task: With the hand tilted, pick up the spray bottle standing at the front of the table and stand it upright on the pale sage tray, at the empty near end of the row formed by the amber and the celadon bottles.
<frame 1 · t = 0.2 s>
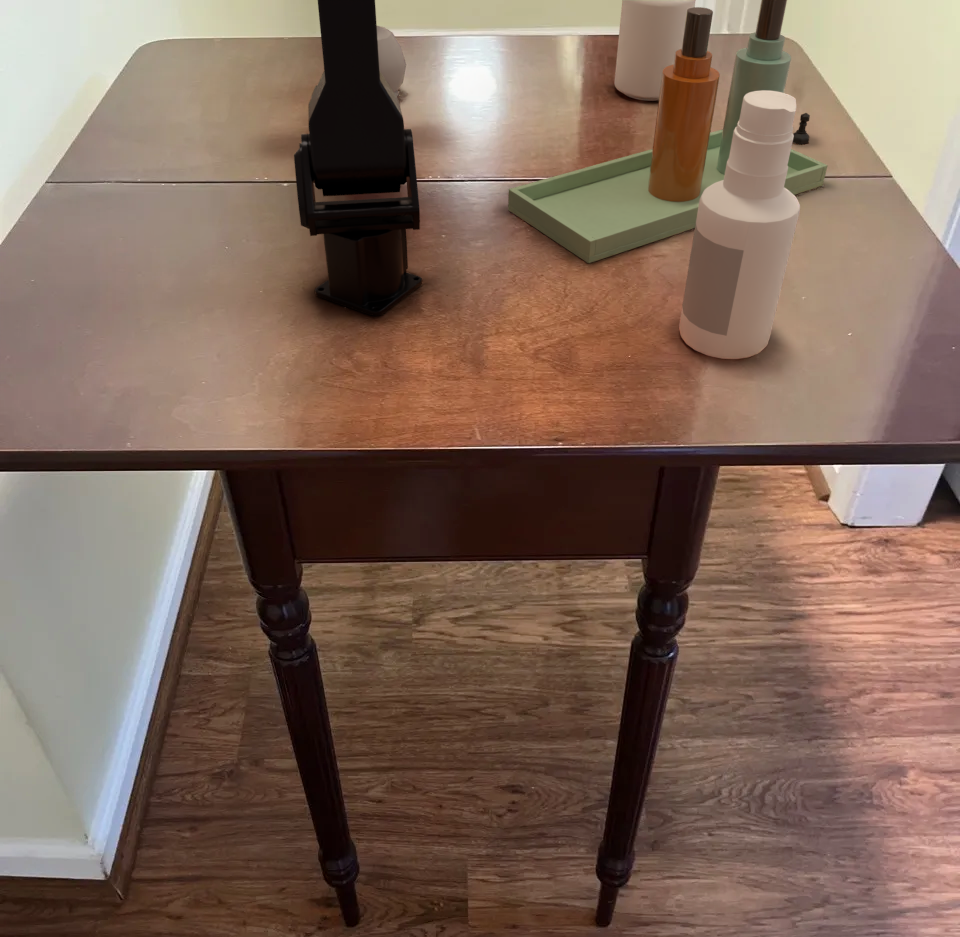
celadon bottle: (741, 169, 96), resting on tray
potion bottle: (369, 97, 112), on the table
spray bottle: (722, 338, 74), on the table
chess pawn: (799, 142, 103), on the table
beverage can: (647, 92, 114), on the table
amber bottle: (673, 190, 92), resting on tray
tray: (669, 197, 92), on the table
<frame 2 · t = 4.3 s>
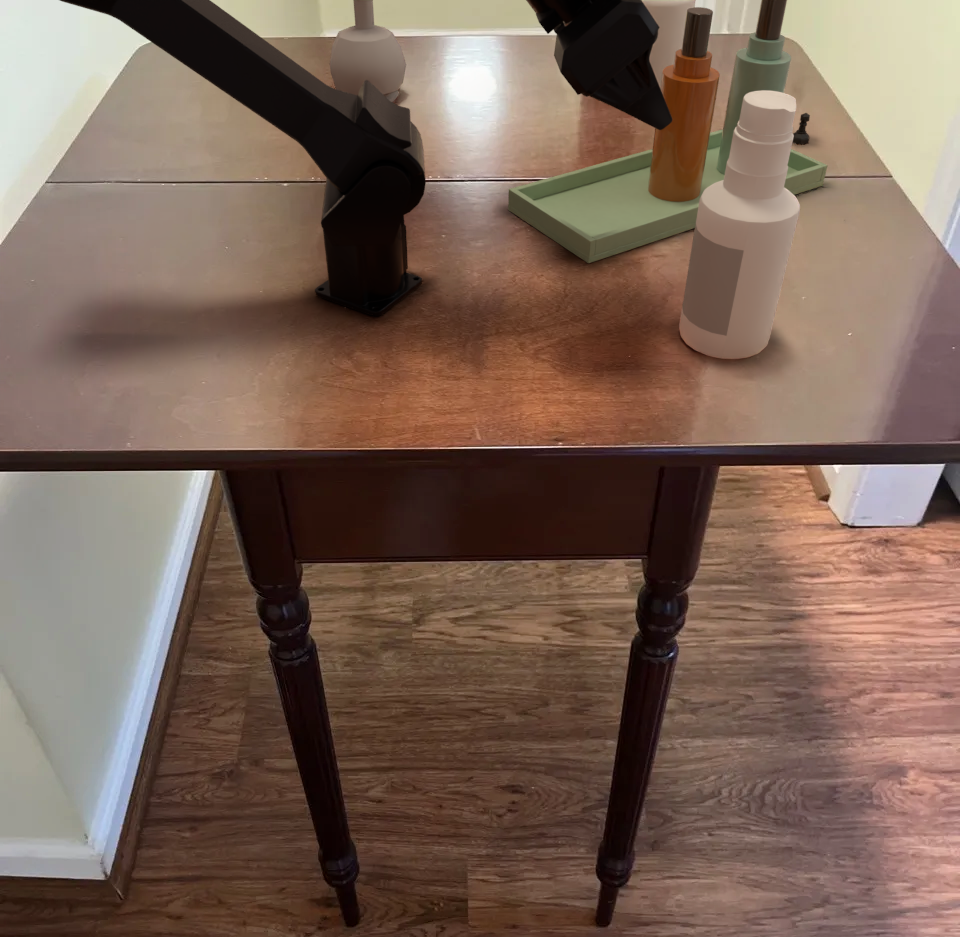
hand: (652, 101, 70), 15 cm above the table, tool tilted 40°, fingers open, 9 cm apart
nothing on the table moved.
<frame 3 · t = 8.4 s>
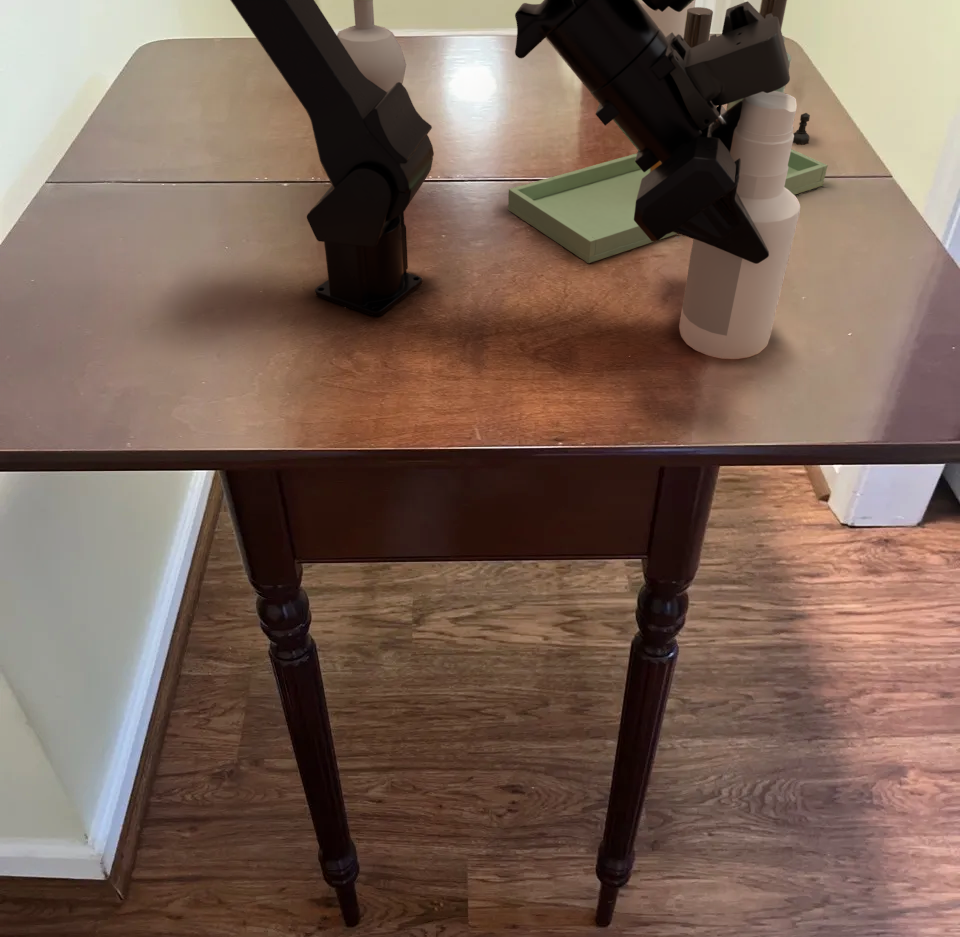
hand: (763, 235, 68), 9 cm above the table, tool tilted 45°, fingers closed on spray bottle, 7 cm apart
spray bottle: (722, 338, 74), on the table, touching gripper
everything else where it was.
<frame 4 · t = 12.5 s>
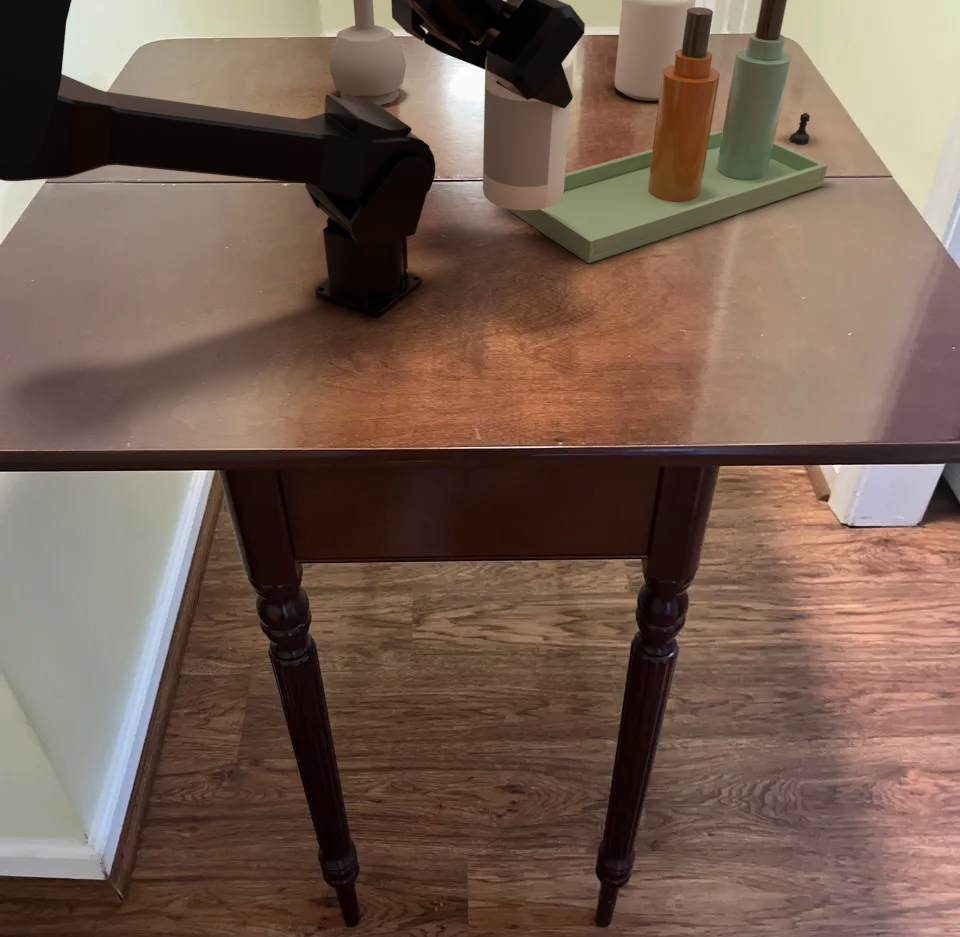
hand: (542, 88, 76), 13 cm above the table, tool tilted 45°, fingers closed on spray bottle, 7 cm apart
spray bottle: (522, 196, 81), point 5 cm above the table, touching gripper
everything else where it was.
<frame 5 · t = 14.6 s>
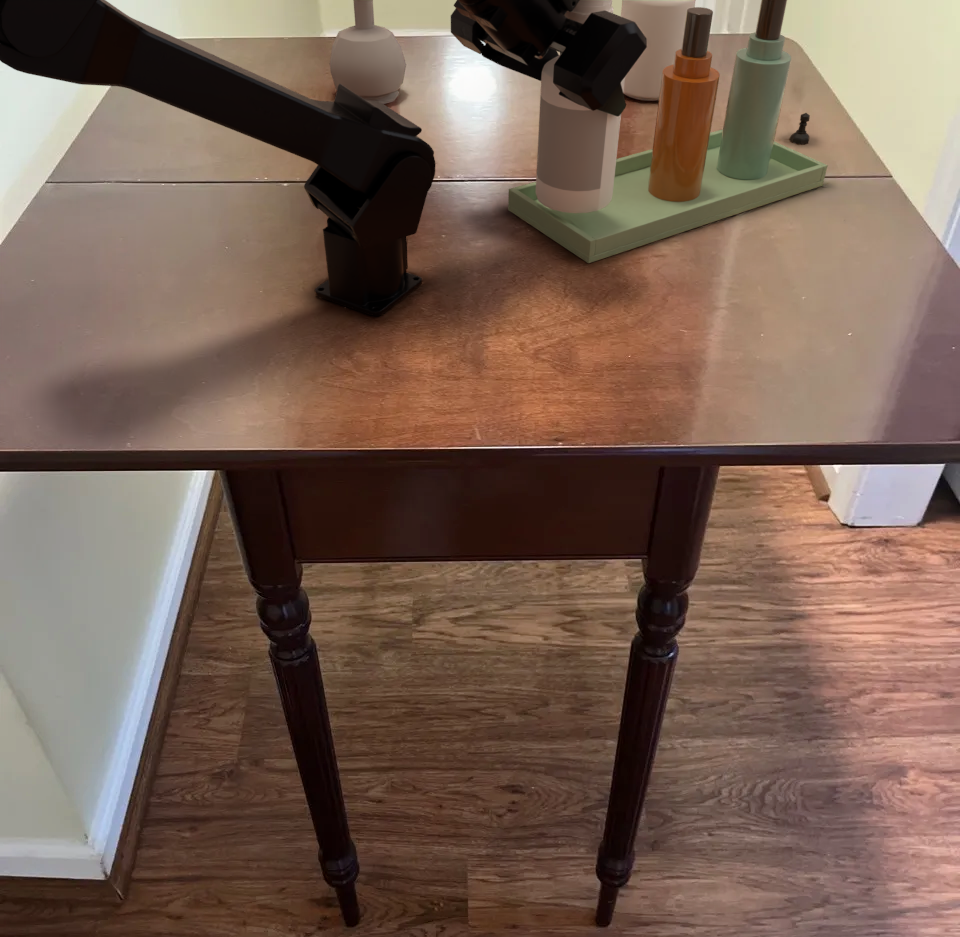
hand: (594, 97, 80), 11 cm above the table, tool tilted 45°, fingers closed on spray bottle, 7 cm apart
spray bottle: (573, 200, 85), point 3 cm above the table, touching gripper
everything else where it was.
when the fingers open (9 cm above the table, at t = 16.4 s): spray bottle stays where it is, resting on tray.
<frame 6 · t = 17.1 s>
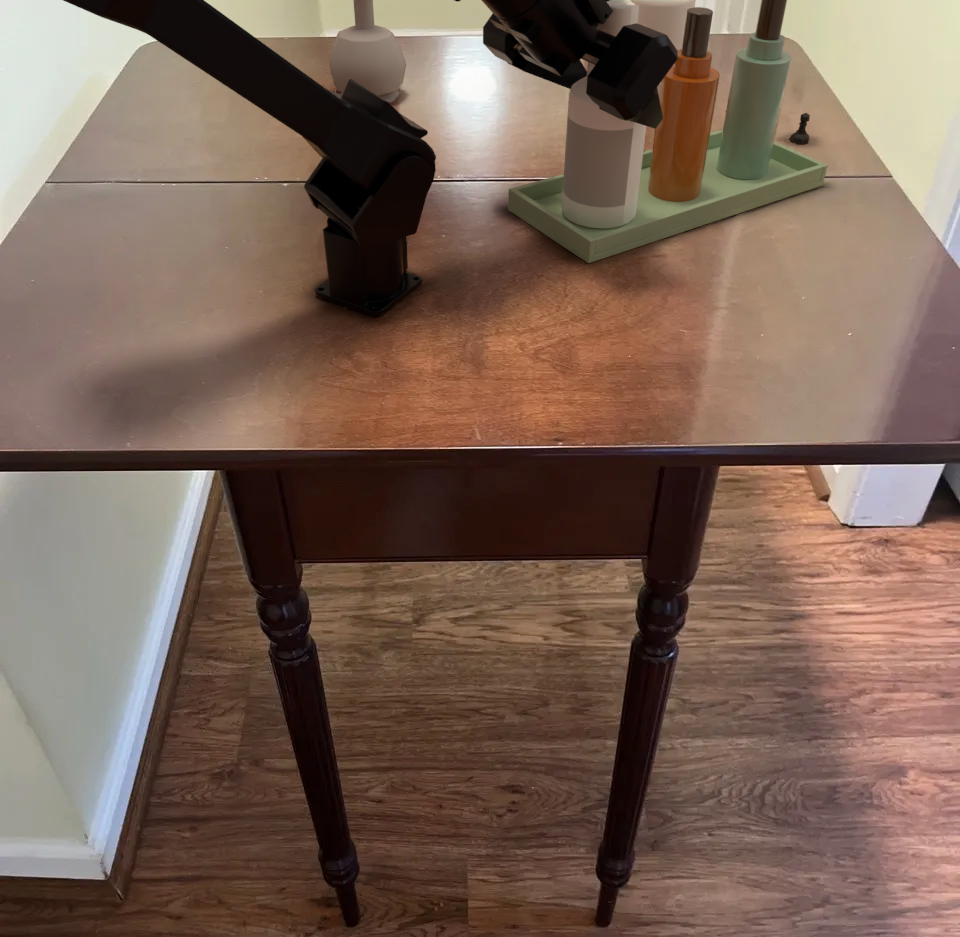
hand: (622, 106, 82), 10 cm above the table, tool tilted 45°, fingers open, 9 cm apart
spray bottle: (598, 215, 88), resting on tray
everything else where it was.
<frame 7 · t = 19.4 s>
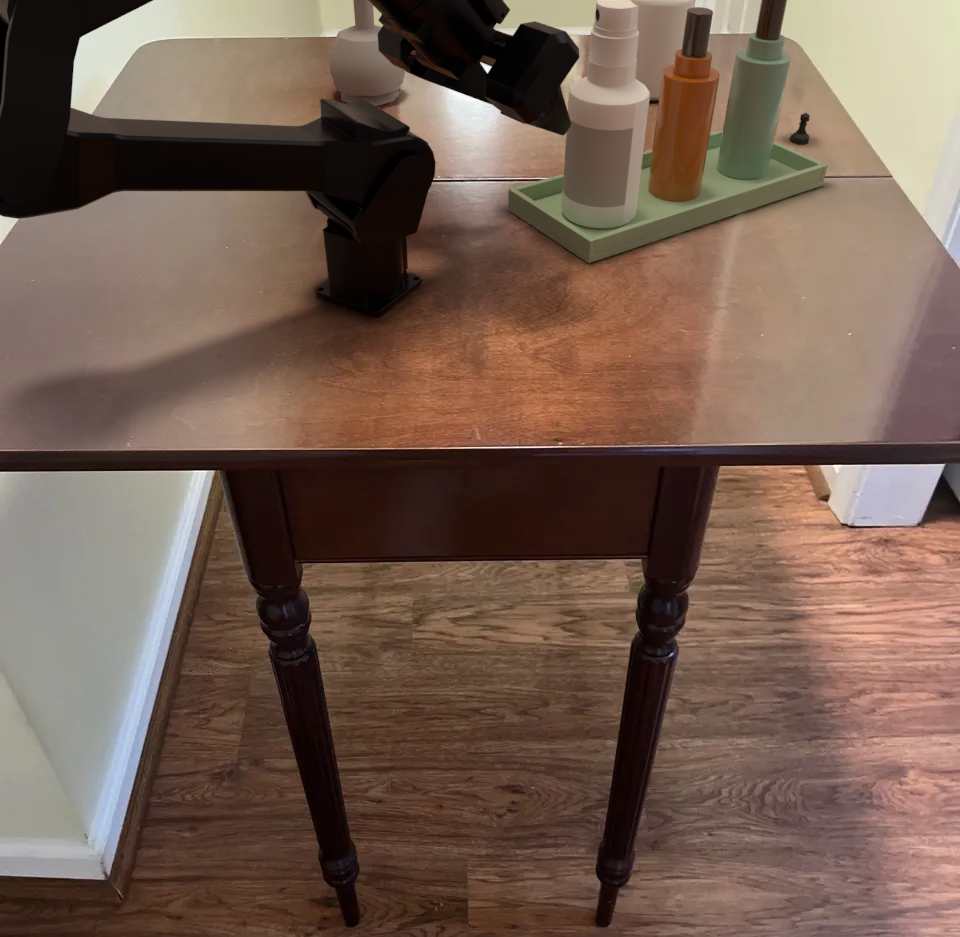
hand: (529, 113, 78), 11 cm above the table, tool tilted 45°, fingers open, 9 cm apart
nothing on the table moved.
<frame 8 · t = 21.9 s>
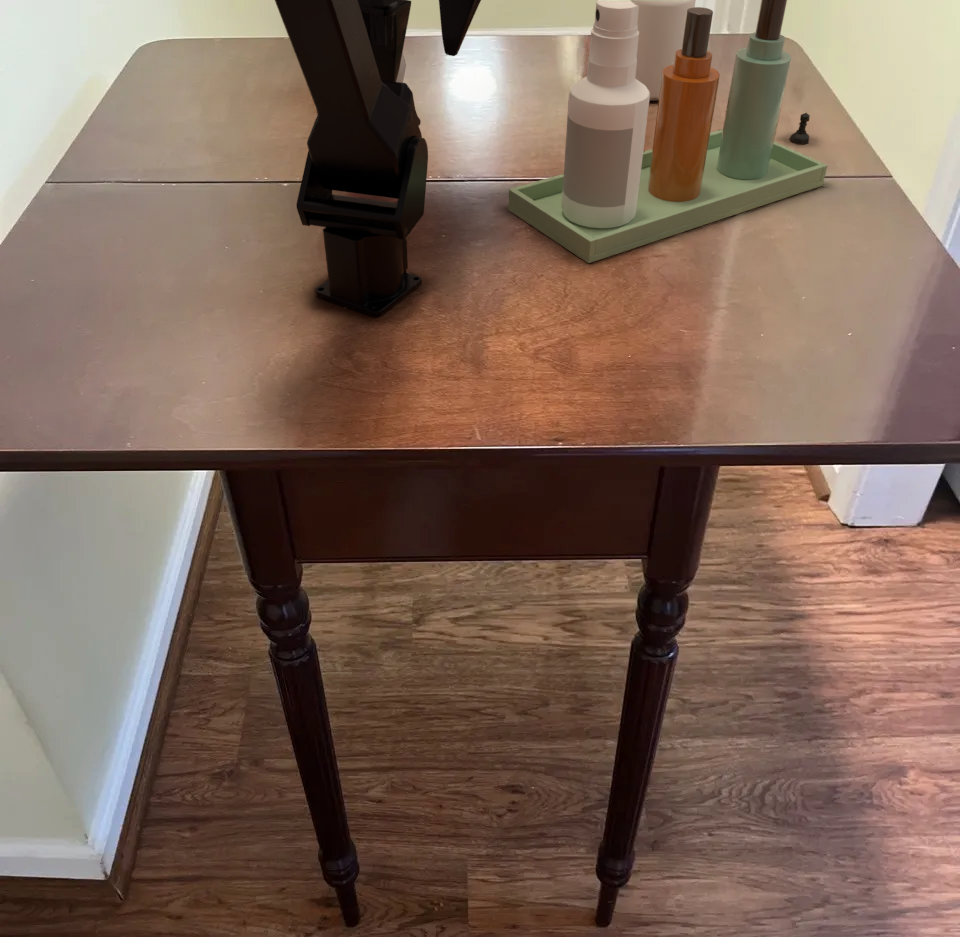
hand: (420, 69, 81), 13 cm above the table, tool pointing down, fingers open, 9 cm apart
nothing on the table moved.
at the end: spray bottle 0.1 cm from the target spot in the tray, point 0.4 cm above the tray's base; spray bottle tilted 0°; the gripper is holding nothing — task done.
